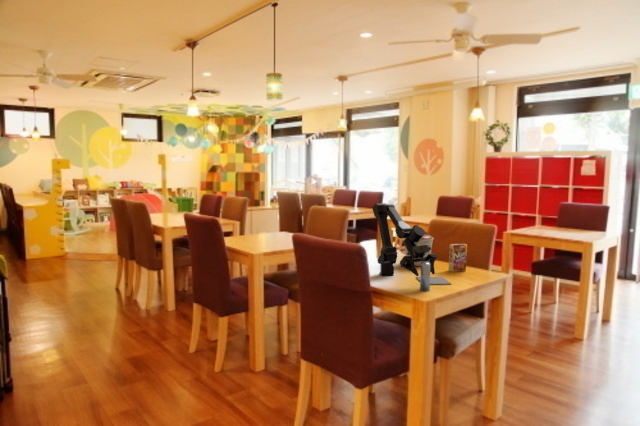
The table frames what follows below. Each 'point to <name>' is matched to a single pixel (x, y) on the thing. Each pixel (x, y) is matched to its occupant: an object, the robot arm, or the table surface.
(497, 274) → the table surface
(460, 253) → the candy box
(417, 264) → the canister
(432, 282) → the gray mat
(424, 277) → the tin canister
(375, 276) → the table surface
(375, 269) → the table surface
